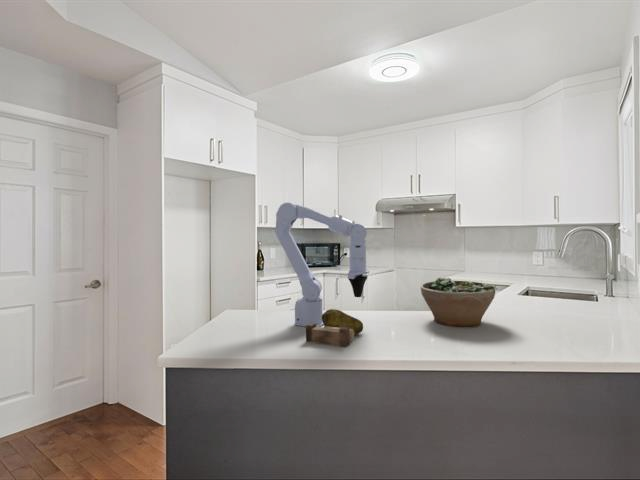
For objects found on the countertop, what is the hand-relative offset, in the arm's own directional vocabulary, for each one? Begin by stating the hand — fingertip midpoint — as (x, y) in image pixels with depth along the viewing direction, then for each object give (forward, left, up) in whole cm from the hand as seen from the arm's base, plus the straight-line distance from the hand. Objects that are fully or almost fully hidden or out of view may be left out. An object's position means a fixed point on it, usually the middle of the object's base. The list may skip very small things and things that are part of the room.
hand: (357, 296), depth 131 cm
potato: (-1, -13, -10) cm, 17 cm away
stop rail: (-2, -23, -10) cm, 25 cm away
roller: (0, -20, -6) cm, 21 cm away
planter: (+31, +18, -10) cm, 37 cm away
